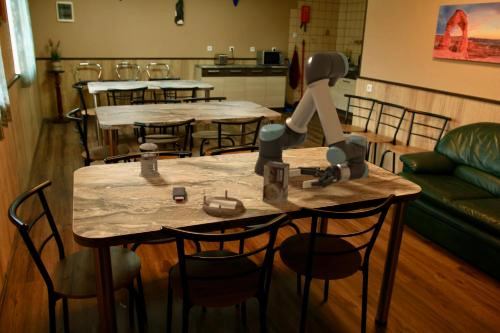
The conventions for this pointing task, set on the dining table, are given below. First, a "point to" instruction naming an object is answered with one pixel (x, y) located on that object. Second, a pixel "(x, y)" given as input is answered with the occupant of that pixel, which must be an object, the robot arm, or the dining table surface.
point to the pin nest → (222, 206)
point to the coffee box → (276, 182)
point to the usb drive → (179, 194)
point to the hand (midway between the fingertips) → (294, 179)
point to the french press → (149, 160)
